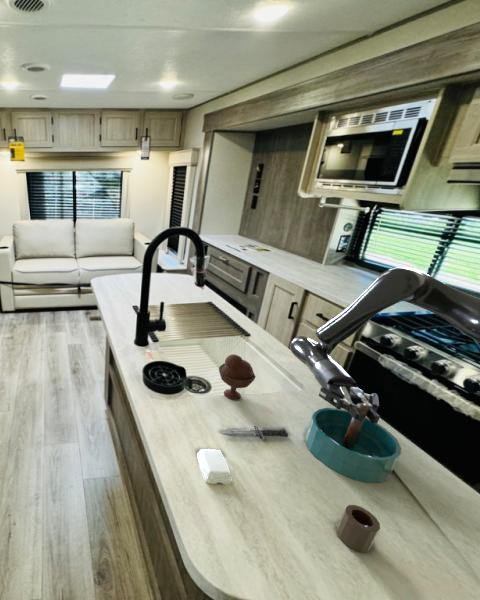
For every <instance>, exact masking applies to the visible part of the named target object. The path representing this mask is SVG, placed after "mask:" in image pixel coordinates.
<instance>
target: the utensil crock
mask: <svg viewBox="0 0 480 600" xmlns="http://www.w3.org/2000/svg"><path fill="white" fill-rule="evenodd" d="M380 530H381V523H380V522H379V520H378V518H377V517H376V516H375V515H374V514H372V512H370V511H369V510H368V509H366V508H364V507H362V506H359V505H356V504H348V505H347V506H345V508H344V510H343V513H342V515H341V517H340V520H339V522H338V524H337V526H336V534H337V537H338V539H339V540H340V542H342V543H343V544H344V546H346V547H348V548H349V549H350V550H352V551H354V552H356V553H360V554H366V553H368V552H369V551H370V550H371V548H372V546H373V544H374V542H375V540H376V538H377V536H378V534H379V532H380Z"/></svg>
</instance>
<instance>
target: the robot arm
mask: <svg viewBox="0 0 480 600" xmlns="http://www.w3.org/2000/svg"><path fill="white" fill-rule="evenodd" d="M400 302H405V303H408V304H411V305H414V306H416V307H419V308H422V309H423V310H426V311H428V312H431V313H433V314H435V315H437V316H438V317H440V318H442V319H443V320H444V321H446V322H447V323H449V324H450V325H451V326H453V327H454V328H455V329H457V330H458V331H460V332H461V333H463V334H464V335H466V336H467V337H468V338H470V339H472V340H474V341H475V342H477V343H479V344H480V297H478V296H475V295H472V294H468V293H466V292H463V291H461V290H458V289H456V288H454V287H453V286H450V285H448V284H446V283H444V282H442V281H440V280H438V279H437V278H434V277H433V276H431V275H429V274H427V273H425V272H424V271H422V270H419V269H416V268H411V267H393V268H390V269H387V270H385V271H383V272H382V273H381V274H380V275H379V276H378V277H377V278H376V279H375V280H374V281H373V282H372V283H371V284H370V285H369V286H368V287H367V288H366V289H365V290H364V291H363V292H362V293H361V294H360V295H359V296H358V297H357V298H355V300H353V301H352V302H351V303H350V304H349V305H347V306H346V307H344V308H343V309H342V310H340V311H339V312H338V313H336V314H335V315H334V316H332V317H331V318H330V319H328V320H327V321H325V322H324V323H323V324H321V325H320V326H319V327H318V328H316V330H315V336H316V337H317V339H318V340H319V342H317V341H316V340H313V339H312V338H309V337H307V336H303V335H300V336H295V337H294V338H292V340H291V342H290V344H289V350H290V352H291V353H292V355H293V356H294V357H295V358H297V359H298V360H299V361H300V362H301V363H302V364H304V365H305V366H306V367H307V368H308V369H309V371H310V372H311V373H312V375H313V377H314V379H315V380H316V381H317V383H318V384H319V385H320V389H319V393H318V397H320V398H321V399H322V400H324V401H325V402H326V403H328V404H330V405H331V406H333V408H337V409H342V410H345V411H347V412H349V414H350V415H351V416H352V417H353V418H354V419H356V421H360V422H361V421H362V419H363V414H362V413H361V411H360V410H359V409H358V408H357V405H358V404H365V405H367V406H368V408H369V410H368V413H367V415H366V418H368V419H369V420H370V421H371V422H372V423H375V424H378V422H379V421H380V418H381V416H380V415H379V414H378V412H377V411H378V409H379V407H380V402H379V395H378V394H377V393H375V392H372V393H371V394H368V393H365V392H364V390H362V389H360V388H359V387H358V385H357V382H356V381H355V380H354V378H353V377H352V376H351V375H350V374H349V373H348V372H347V371H346V369H344V368H343V367H342V366H341V365H340V364H338V363H337V362H336V361H335V359H333V358H332V357H331V356H330V355H331V353H332V352H333V351H334V350H335V348H336V347H337V346H338V345H340V343H342V342H343V341H345V340H347V339H349V338H350V337H351V336H353V335H354V334H355V333H357V332H358V331H359V330H360V329H361V328H362V327H364V325H366V324H367V322H368V321H370V320H371V319H372V318H373V317H375V316H376V315H377V314H380V313H381V312H382V311H384V310H386V309H388V308H390V307H392V306H395V305H396V304H399V303H400Z"/></svg>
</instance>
